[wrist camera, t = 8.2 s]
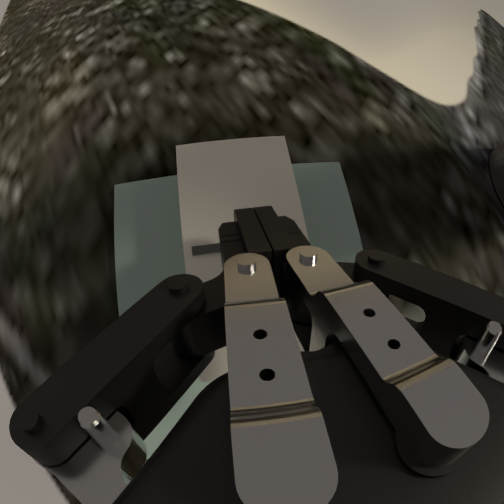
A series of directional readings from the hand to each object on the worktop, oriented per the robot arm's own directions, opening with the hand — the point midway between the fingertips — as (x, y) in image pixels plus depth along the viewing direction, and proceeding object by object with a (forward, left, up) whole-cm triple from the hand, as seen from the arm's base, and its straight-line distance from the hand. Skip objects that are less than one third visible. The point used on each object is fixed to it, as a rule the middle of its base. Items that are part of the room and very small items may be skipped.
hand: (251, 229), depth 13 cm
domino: (0, +6, -4) cm, 7 cm away
